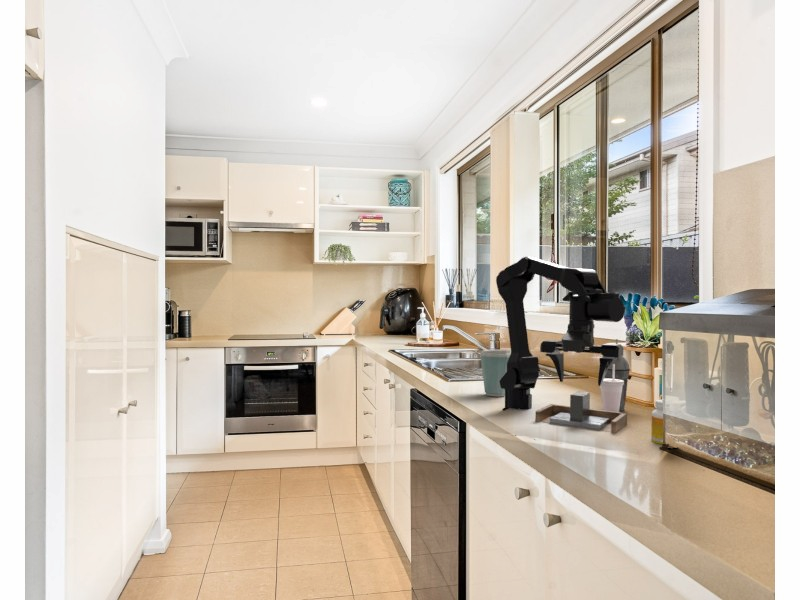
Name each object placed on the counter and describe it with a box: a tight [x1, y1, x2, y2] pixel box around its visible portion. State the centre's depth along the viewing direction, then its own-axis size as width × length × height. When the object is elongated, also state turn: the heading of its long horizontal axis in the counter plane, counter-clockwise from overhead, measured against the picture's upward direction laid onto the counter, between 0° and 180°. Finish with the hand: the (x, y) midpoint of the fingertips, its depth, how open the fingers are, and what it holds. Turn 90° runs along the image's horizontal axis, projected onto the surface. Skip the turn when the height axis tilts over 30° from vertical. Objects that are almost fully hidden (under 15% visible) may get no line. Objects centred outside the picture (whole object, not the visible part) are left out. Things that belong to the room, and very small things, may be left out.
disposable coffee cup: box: [479, 348, 511, 397], centre depth 178 cm, size 11×11×15 cm
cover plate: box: [549, 391, 610, 431], centre depth 135 cm, size 12×9×7 cm
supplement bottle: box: [650, 399, 663, 445], centre depth 119 cm, size 5×5×10 cm
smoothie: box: [599, 364, 624, 412], centre depth 149 cm, size 6×6×14 cm
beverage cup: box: [604, 339, 631, 412], centre depth 158 cm, size 7×7×20 cm
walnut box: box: [534, 403, 628, 434], centre depth 136 cm, size 19×12×4 cm, turn 56°
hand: (580, 383), depth 135 cm, fingers open, 9 cm apart
